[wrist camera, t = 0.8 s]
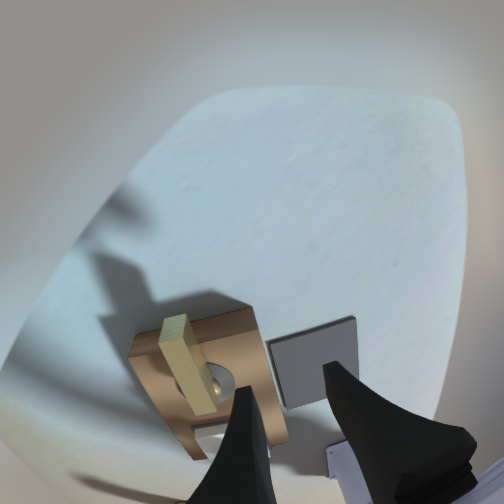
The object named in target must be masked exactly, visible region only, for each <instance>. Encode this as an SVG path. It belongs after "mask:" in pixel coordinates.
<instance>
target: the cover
mask: <svg viewBox="0 0 504 504" xmlns="http://www.w3.org/2000/svg"><path fill="white" fill-rule="evenodd" d="M227 425H228V423H227V424H222V425H216V426H211V427H205V428H199V429H195V440H196V441H197V443H198V444H199V446H200V447H201V449H202V450H203V452H204V453H205V455H206V456H207V457H208V459H209V460H210V462H211V463H212V462H213V460H214V458H215V456H216V454H217V452H218V450H219V447H220V445H221V442H222V440H223V437H224V434H225V431H226V428H227ZM267 448H268V446H267ZM268 456H269V458H270V452H269V448H268Z"/></svg>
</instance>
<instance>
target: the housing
mask: <svg viewBox="0 0 504 504" xmlns="http://www.w3.org/2000/svg"><path fill="white" fill-rule="evenodd" d="M190 324H191V327H192V329H193V332H194V334H195V337H196V339H197V341H198V344H199V346H200V349H201V351H202V354H203V356H204V358H205V361H206V363H207V365H208V368H209V370H210V372H211V375H212V377H213V378H215V379H216V380H218V381H219V383H220V385H221V398H220V400H219V401H217V412H214V413H209V414H204V415H198V416H196V415H195V413H194V411H193V410H192V408H191V406H190V404H189V402H188V401H187V399H186V397H185V395H184V393H183V391H182V390H181V388H180V386H179V384H178V382H177V380H176V378H175V376H174V374H173V372H172V370H171V368H170V366H169V365H168V363H167V360H166V358H165V356H164V354H163V352H162V350H161V348H160V346H159V344H158V342H159V338H160V334H161V330H162V329H158V330H154V331H149V332H145V333H140V334H136V335H135V338H134V341H133V344H132V347H131V349H130V352H129V355H128V358H127V359H128V360H129V362H130V364H131V366H132V368H133V369H134V371H135V373H136V375H137V376H138V378H139V380H140V382H141V383H142V385H143V387H144V388H145V390H146V392H147V393H148V395H149V396H150V398H151V400H152V401H153V403H154V404H155V406H156V408H157V409H158V411H159V412H160V414H161V415H162V417H163V418H164V420H165V421H166V423H167V424H168V426H169V427H170V429H171V430H172V432H173V433H174V434H175V436H176V437H177V439H178V440H179V441H180V443H181V444H182V446H183V447H184V448H185V450H186V451H187V452H188V454H189V455H190V456H191V458H192V459H193V460H202V459H208V457H207V456H206V455H205V453H204V452H203V450H202V449H201V447H200V446H199V444H198V443H197V441H196V440H195V429H199V428H205V427H211V426H216V425H222V424H227V423H228V422H229V418H230V414H231V410H232V406H233V401H234V393H235V390H236V389H237V388H240V387H245V386H249V385H251V387H252V390H253V393H254V396H255V398H256V401H257V404H258V407H259V409H260V412H261V415H262V419H263V424H264V428H265V432H266V439H267V446H268V448H269V450H272V446H276V445H280V444H284V443H288V442H291V441H290V438H289V434H288V431H287V427H286V423H285V420H284V416H283V413H282V409H281V406H280V402H279V399H278V395H277V392H276V388H275V385H274V382H273V378H272V375H271V371H270V368H269V364H268V360H267V357H266V353H265V350H264V346H263V343H262V339H261V336H260V332H259V329H258V325H257V321H256V318H255V314H254V311H253V307H248V308H245V309H241V310H237V311H233V312H229V313H225V314H221V315H217V316H213V317H209V318H205V319H201V320H197V321H193V322H190Z"/></svg>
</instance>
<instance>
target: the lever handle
mask: <svg viewBox="0 0 504 504" xmlns="http://www.w3.org/2000/svg"><path fill="white" fill-rule="evenodd" d="M158 344H159V346H160V348H161V350H162V352H163V354H164V356H165V358H166V360H167V363H168V365H169V366H170V368H171V370H172V372H173V374H174V376H175V378H176V380H177V382H178V384H179V386H180V388H181V390H182V391H183V393H184V395H185V397H186V399H187V401H188V402H189V404H190V406H191V408H192V410H193V411H194V413H195V415H196V416H198V415H204V414H209V413H214V412H217V401H219V400H220V398H221V385H220V383H219V381H218V380H216V379H215V378H213V377H212V375H211V372H210V370H209V368H208V365H207V363H206V361H205V358H204V356H203V354H202V351H201V349H200V346H199V344H198V341H197V339H196V337H195V334H194V332H193V329H192V327H191V324H190V321H189V319H188V316H187V314H186V313H185V314H181V315H177V316H173V317H168V318H164V322H163V326H162V330H161V334H160V338H159V342H158Z"/></svg>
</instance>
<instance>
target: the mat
mask: <svg viewBox="0 0 504 504" xmlns="http://www.w3.org/2000/svg"><path fill="white" fill-rule="evenodd" d="M270 347H271V351H272V355H273V358H274V362H275V366H276V370H277V373H278V377H279V381H280V385H281V388H282V392H283V396H284V399H285V403H286V407H287V410H289V409H292V408H296V407H299V406H303V405H306V404H310V403H313V402H316V401H319V400H322V399H325V398H327V396H326V388H325V381H324V373H323V366H322V365H323V364H326V363H329V362H332V361H335V360H336V361H338V362H339V363H340V364H341V365H342V366H343V367H344V368H346V369H347V370H348V371H349V372H350V373H351V374H352V375H353V376H355V377H356V378H357V379H358V380H359V360H358V340H357V325H356V318H355V317H352V318H350V319H347V320H344V321H341V322H337V323H334V324H331V325H328V326H325V327H322V328H319V329H315V330H312V331H309V332H306V333H302V334H299V335H295V336H292V337H288V338H285V339H281V340H278V341H274V342H271V343H270Z"/></svg>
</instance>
